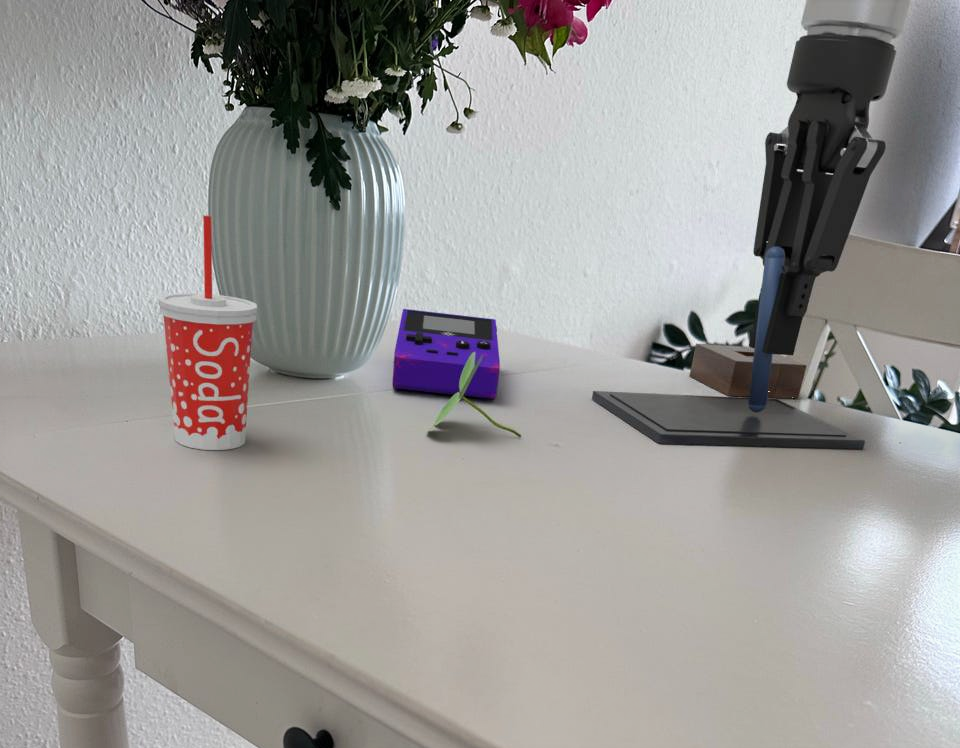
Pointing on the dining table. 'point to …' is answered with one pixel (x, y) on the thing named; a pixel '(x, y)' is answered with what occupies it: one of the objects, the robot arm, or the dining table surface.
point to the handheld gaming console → (445, 353)
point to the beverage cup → (208, 362)
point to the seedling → (463, 384)
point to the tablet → (723, 421)
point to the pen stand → (744, 371)
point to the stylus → (765, 329)
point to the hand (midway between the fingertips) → (770, 350)
